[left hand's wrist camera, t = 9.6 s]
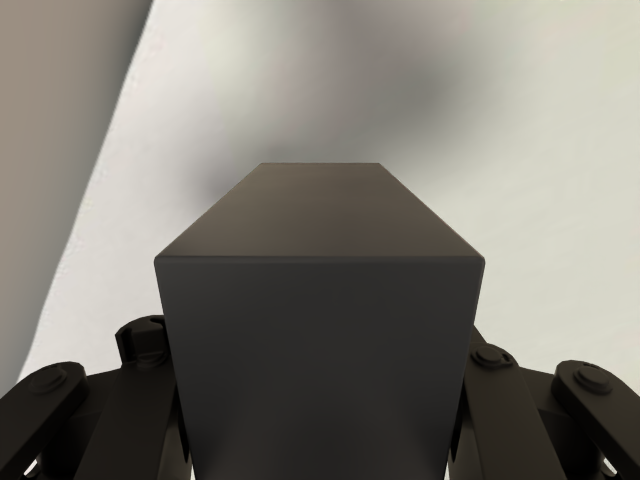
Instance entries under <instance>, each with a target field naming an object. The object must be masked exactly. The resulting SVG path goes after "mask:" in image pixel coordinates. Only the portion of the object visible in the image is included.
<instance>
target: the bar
mask: <svg viewBox="0 0 640 480" xmlns="http://www.w3.org/2000/svg"><path fill="white" fill-rule="evenodd" d="M154 267H155V272H156V277H157V282H158V288H159V293H160V298H161V303H162V308H163V314H164V319H165V324H166V329H167V334H168V340H169V345H170V350H171V355H172V361H173V366H174V371H175V376H176V381H177V387H178V392H179V397H180V402H181V407H182V413H183V418H184V423H185V428H186V433H187V439H188V444H189V449H190V454H191V460H192V465H193V470H194V475H195V480H444V477H445V472H446V467H447V461H448V456H449V451H450V446H451V440H452V435H453V430H454V425H455V419H456V414H457V409H458V404H459V399H460V393H461V388H462V383H463V378H464V372H465V367H466V362H467V357H468V351H469V346H470V341H471V336H472V331H473V325H474V320H475V315H476V310H477V304H478V299H479V294H480V289H481V283H482V278H483V273H484V268H485V259H484V257H483V256H482V255H481V254H480V253H479V252H477V251H476V250H475V249H474V248H473V247H472V246H471V245H470V244H469V243H467V242H466V241H465V240H464V239H463V238H462V237H461V236H460V235H459V234H457V233H456V232H455V231H454V230H453V229H452V228H451V227H450V226H449V225H447V224H446V223H445V222H444V221H443V220H442V219H441V218H440V217H438V216H437V215H436V214H435V213H434V212H433V211H432V210H431V209H430V208H428V207H427V206H426V205H425V204H424V203H423V202H422V201H421V200H420V199H418V198H417V197H416V196H415V195H414V194H413V193H412V192H411V191H410V190H408V189H407V188H406V187H405V186H404V185H403V184H402V183H401V182H400V181H398V180H397V179H396V178H395V177H394V176H393V175H392V174H391V173H390V172H388V171H387V170H386V169H385V168H384V167H383V166H382V165H381V164H379V163H261V164H260V165H259V166H258V167H256V168H255V169H254V170H253V171H252V172H251V173H250V174H249V175H247V176H246V177H245V178H244V179H243V180H242V181H241V182H240V183H238V184H237V185H236V186H235V187H234V188H233V189H232V190H230V191H229V192H228V193H227V194H226V195H225V196H224V197H223V198H221V199H220V200H219V201H218V202H217V203H216V204H215V205H214V206H212V207H211V208H210V209H209V210H208V211H207V212H206V213H204V214H203V215H202V216H201V217H200V218H199V219H198V220H197V221H195V222H194V223H193V224H192V225H191V226H190V227H189V228H188V229H186V230H185V231H184V232H183V233H182V234H181V235H180V236H178V237H177V238H176V239H175V240H174V241H173V242H172V243H171V244H169V245H168V246H167V247H166V248H165V249H164V250H163V251H162V252H160V253H159V254H158V255H157V256H156V257H155V259H154Z"/></svg>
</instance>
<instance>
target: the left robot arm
mask: <svg viewBox="0 0 640 480" xmlns="http://www.w3.org/2000/svg"><path fill="white" fill-rule="evenodd" d="M115 338H116V341H117V345H118V349H119V353H120V357H121V361H122V366H121V368H119V369H116V370H112V371H107V372H103V373H98V374H94V375H89V376H86V373H85V370H84V367H83V366H82V365H81V364H79V363H76V362H70V361H69V362H61V363H55V364H51V365H48V366H45V367H43V368H41V369H39V370H37V371H35V372H33V373H31V374H30V375H28V376H27V377H25V378H24V379H23V380H21V381H20V382H19V383H18V384H16V385H15V386H14V387H13V388H12V389H11V390H10V391H9V392H8V393H7V394H5V395H4V396H3V397H2V398H1V399H0V480H190V479H191V470H192V460H191V454H190V449H189V444H188V439H187V433H186V428H185V423H184V418H183V413H182V407H181V402H180V397H179V392H178V387H177V381H176V376H175V371H174V366H173V361H172V355H171V350H170V345H169V340H168V334H167V329H166V324H165V319H164V315H150V316H146V317H141V318H138V319H136V320H134V321H131V322H129V323H127V324H126V325H124V326H123V327H121V328H120V329H119V330H118V332H117V333H116V334H115ZM605 457H606V459H607V460H608V461H609V462H610V464H611V465H612V466H613V467H614V468H615V470H616V471H617V474H614V473H613V472H612V471H611V470H610V469H609V468H608V467H607V465H606V464H605V463H604V462H603V461H604V459H605ZM35 459H36V461H37V464H36V465H35V466H34V468H33V469H32V470H31V471H30V472H29V473H28V474H27V475H26V476H25V475H24V472H25V471H26V470H27V469H28V468H29V466H30V465H31V464H32V463H33V461H34V460H35ZM448 469H449V478H450V480H640V397H639V396H638V395H637V394H636V393H635V392H634V391H633V390H632V389H631V388H629V387H628V386H627V385H626V384H625V383H624V382H623V381H622V380H620V379H619V378H618V377H616V376H615V375H613V374H612V373H611V372H609V371H607V370H605V369H603V368H601V367H599V366H597V365H594V364H590V363H587V362H584V361H576V360H568V361H562V362H561V363H560V364H558V365H557V367H556V370H555V374H554V375H553V374H549V373H544V372H539V371H535V370H530V369H526V368H523V367H519V365H518V363H517V362H516V360H515V359H514V357H513V356H512V355H510V354H509V353H508V352H506V351H505V350H504V349H502V348H499V347H497V346H495V345H493V344H489V343H487V342H486V341H485V340H484V338H483V337H482V336H481V334H480V333H479V331H478V330H477V329H476V327H475V326H474V325H473V331H472V336H471V341H470V346H469V351H468V357H467V362H466V367H465V372H464V378H463V383H462V388H461V393H460V399H459V404H458V409H457V414H456V419H455V425H454V430H453V435H452V440H451V446H450V451H449V456H448Z"/></svg>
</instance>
